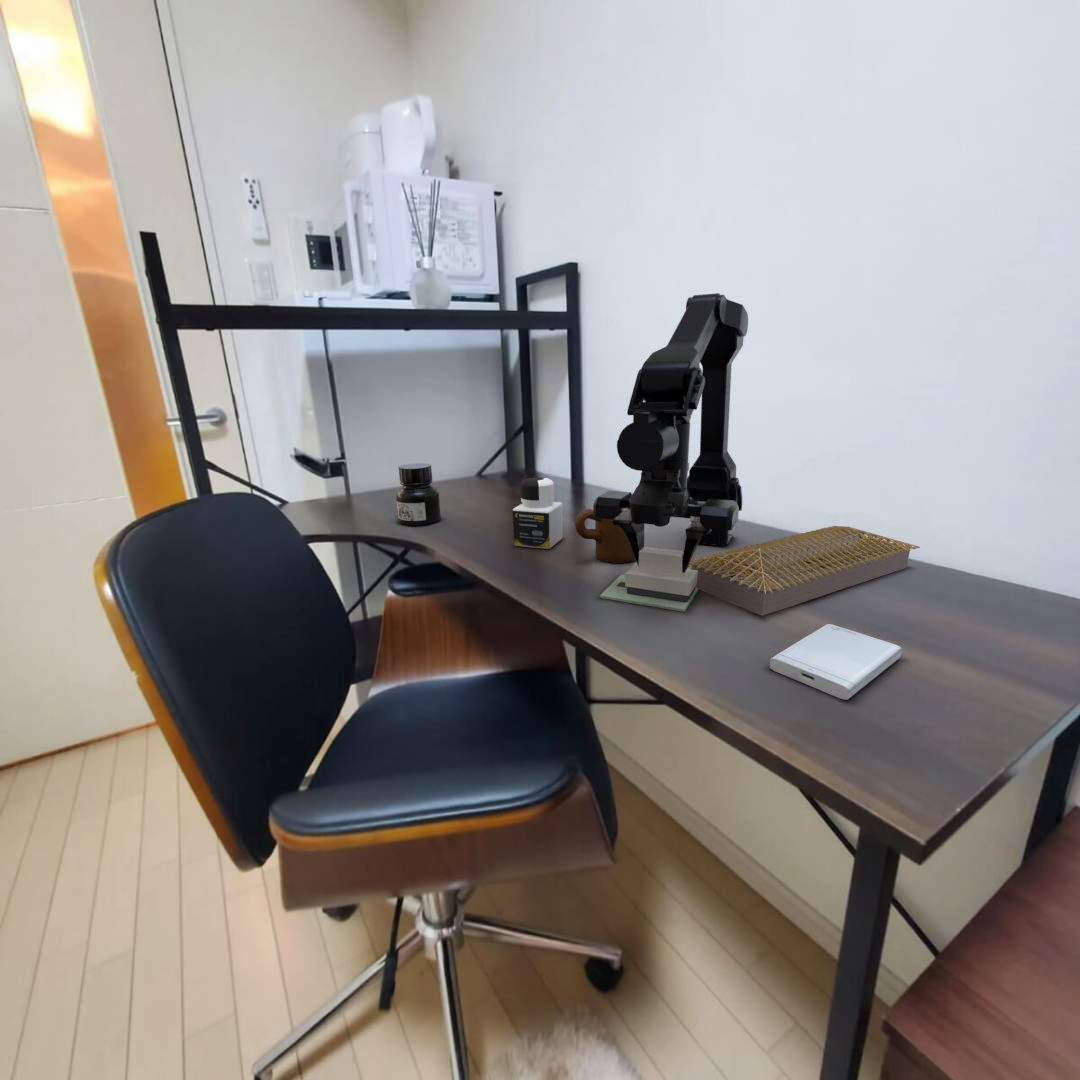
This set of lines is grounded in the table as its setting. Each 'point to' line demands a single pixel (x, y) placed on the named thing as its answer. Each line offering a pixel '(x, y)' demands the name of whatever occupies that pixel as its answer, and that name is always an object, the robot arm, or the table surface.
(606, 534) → the mug
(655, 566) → the white stepped block
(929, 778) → the table surface
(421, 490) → the ink bottle
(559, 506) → the medicine bottle
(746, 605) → the rafter model
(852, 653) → the hard drive
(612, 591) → the desk mat
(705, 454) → the robot arm
